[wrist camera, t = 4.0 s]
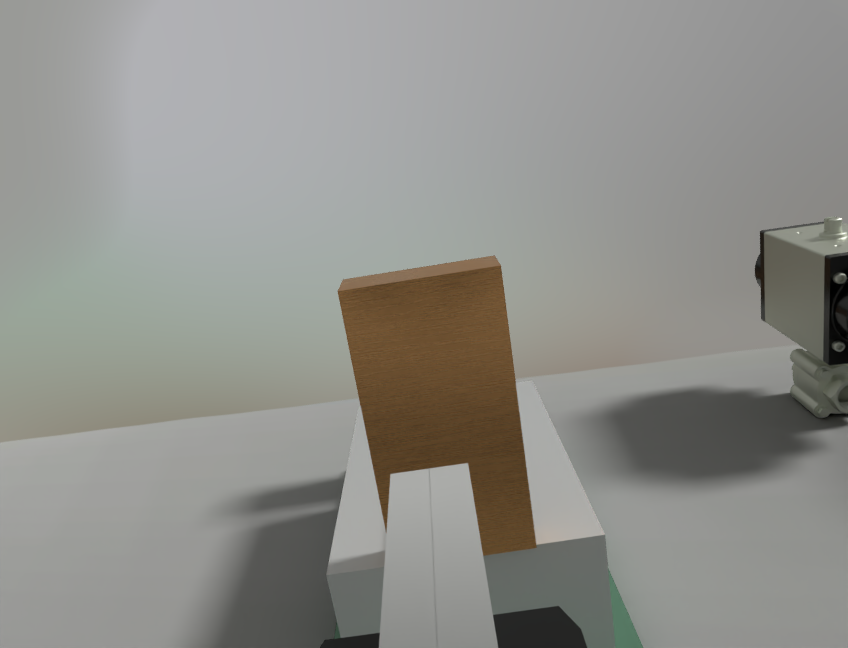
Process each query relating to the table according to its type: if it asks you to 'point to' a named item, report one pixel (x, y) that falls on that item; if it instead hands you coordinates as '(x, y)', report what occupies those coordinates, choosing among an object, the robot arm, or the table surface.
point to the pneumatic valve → (810, 307)
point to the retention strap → (442, 386)
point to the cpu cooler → (506, 572)
